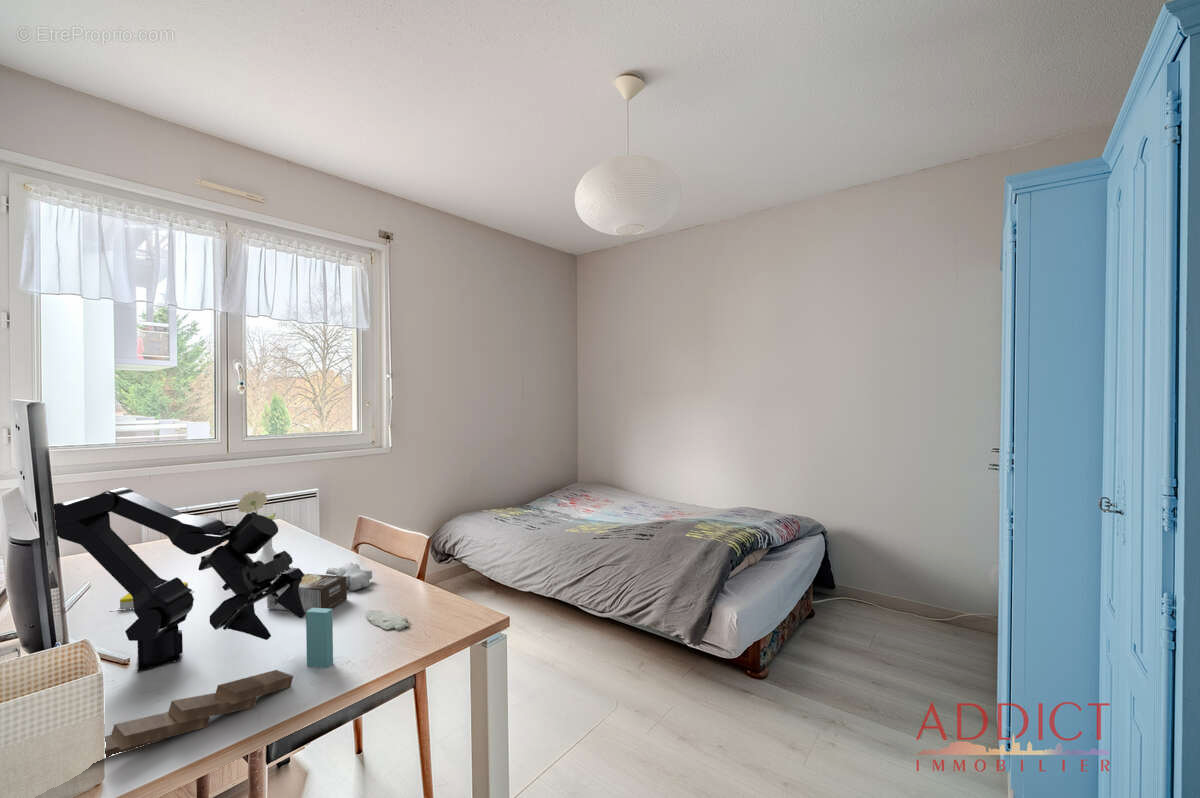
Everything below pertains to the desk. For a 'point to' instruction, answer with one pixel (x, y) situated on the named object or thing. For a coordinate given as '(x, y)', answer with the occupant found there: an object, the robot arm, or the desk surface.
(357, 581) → the bunny figurine
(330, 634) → the teal domino
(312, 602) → the coffee box
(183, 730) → the domino
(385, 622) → the stone tool
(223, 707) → the domino
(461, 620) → the desk surface
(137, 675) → the desk surface
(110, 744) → the domino
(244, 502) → the flower in vase
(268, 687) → the domino
